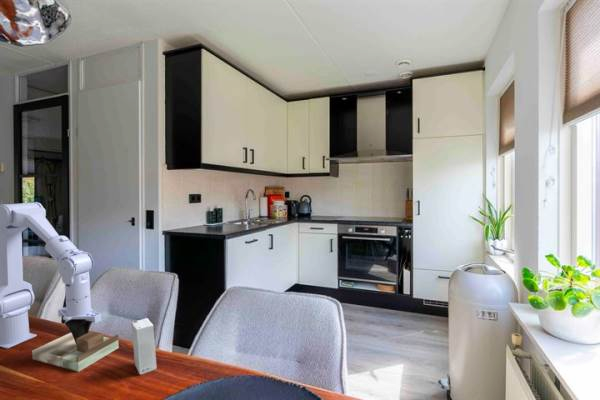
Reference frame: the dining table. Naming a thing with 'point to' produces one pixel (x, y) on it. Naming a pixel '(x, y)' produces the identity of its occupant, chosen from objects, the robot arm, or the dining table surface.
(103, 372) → the dining table surface
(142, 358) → the skincare box
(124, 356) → the dining table surface
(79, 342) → the walnut block
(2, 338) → the robot arm
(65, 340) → the box
